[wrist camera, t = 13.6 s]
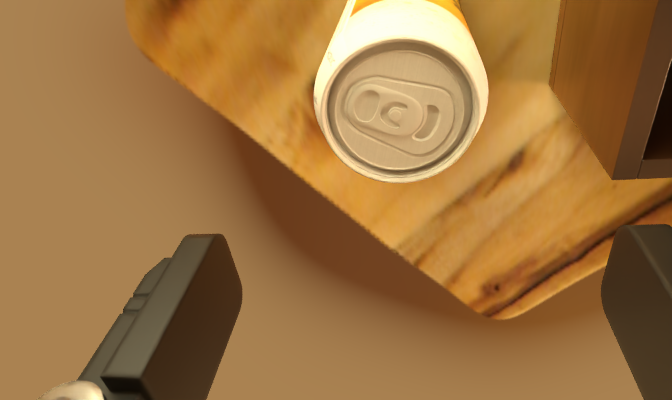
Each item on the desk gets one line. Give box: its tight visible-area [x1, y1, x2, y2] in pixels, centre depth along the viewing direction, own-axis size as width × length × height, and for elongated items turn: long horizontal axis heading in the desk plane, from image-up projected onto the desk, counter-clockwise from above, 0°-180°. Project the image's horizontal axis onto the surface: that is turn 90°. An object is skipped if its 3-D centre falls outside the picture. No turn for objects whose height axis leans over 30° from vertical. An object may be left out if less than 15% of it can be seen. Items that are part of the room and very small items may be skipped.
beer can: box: [314, 0, 489, 183], centre depth 21 cm, size 6×6×15 cm
